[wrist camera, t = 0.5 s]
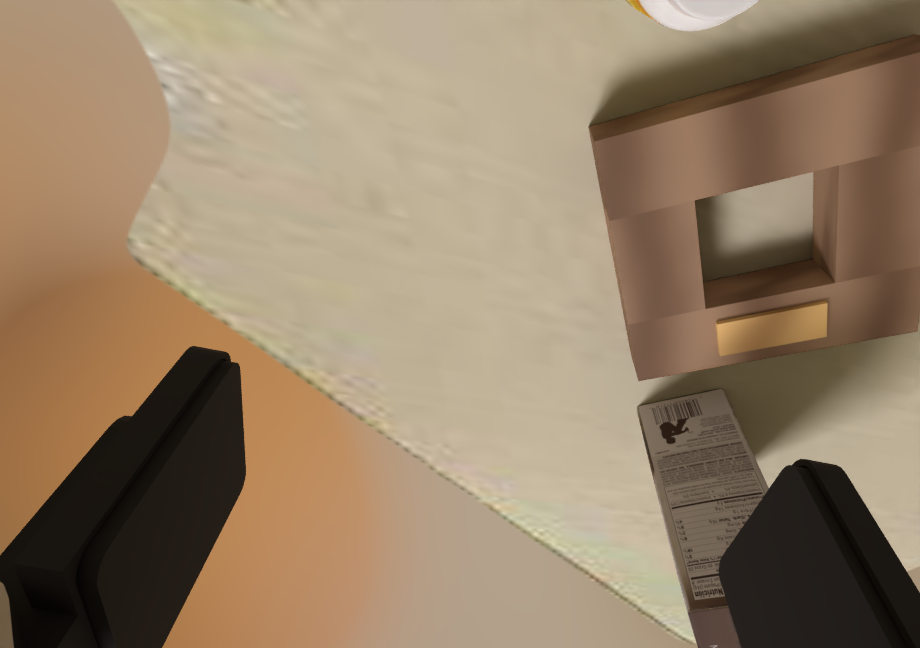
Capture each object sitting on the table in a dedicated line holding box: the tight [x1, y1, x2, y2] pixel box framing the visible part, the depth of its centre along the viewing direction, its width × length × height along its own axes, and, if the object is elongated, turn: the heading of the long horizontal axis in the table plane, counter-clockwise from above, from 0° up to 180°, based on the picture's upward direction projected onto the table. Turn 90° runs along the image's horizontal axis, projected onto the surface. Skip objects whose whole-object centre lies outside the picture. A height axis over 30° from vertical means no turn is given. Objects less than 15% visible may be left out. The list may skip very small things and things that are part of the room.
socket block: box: [589, 35, 920, 381], centre depth 33 cm, size 16×16×3 cm
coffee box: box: [637, 389, 769, 648], centre depth 37 cm, size 9×6×16 cm
